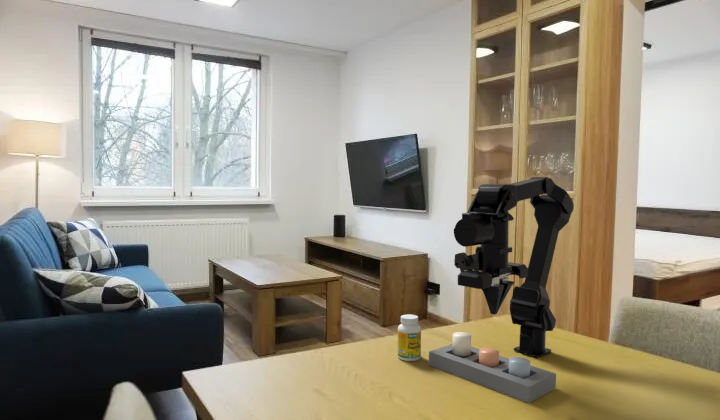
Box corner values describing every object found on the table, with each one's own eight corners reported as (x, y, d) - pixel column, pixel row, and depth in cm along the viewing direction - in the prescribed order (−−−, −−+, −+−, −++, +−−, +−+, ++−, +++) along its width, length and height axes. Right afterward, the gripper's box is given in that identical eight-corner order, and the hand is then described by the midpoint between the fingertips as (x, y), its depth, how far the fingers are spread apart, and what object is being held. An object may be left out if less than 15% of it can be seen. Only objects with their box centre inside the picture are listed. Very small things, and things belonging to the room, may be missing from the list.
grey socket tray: (457, 354, 111) (457, 342, 111) (555, 388, 93) (556, 373, 93) (428, 364, 105) (429, 351, 105) (528, 403, 87) (529, 386, 86)
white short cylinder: (459, 348, 107) (460, 330, 107) (474, 353, 104) (475, 335, 104) (448, 352, 104) (448, 334, 104) (463, 357, 101) (463, 338, 101)
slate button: (515, 374, 96) (515, 355, 96) (533, 381, 93) (534, 361, 93) (504, 379, 94) (504, 359, 94) (522, 386, 91) (523, 365, 91)
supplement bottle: (410, 352, 113) (411, 312, 113) (425, 358, 109) (426, 317, 108) (392, 356, 110) (393, 315, 110) (407, 363, 106) (407, 320, 105)
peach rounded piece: (486, 364, 102) (486, 346, 102) (502, 370, 99) (502, 351, 99) (474, 369, 99) (475, 350, 99) (491, 375, 96) (491, 355, 96)
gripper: (486, 235, 114) (486, 299, 115) (437, 242, 102) (437, 314, 103) (529, 239, 106) (528, 308, 107) (481, 248, 94) (480, 325, 95)
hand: (493, 313), depth 103 cm, fingers closed
